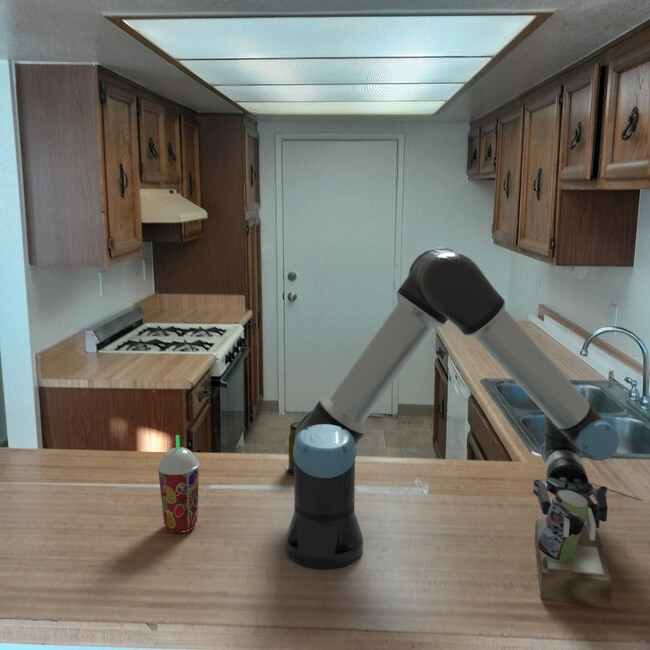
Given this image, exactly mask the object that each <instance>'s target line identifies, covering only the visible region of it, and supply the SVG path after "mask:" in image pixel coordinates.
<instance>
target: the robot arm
mask: <svg viewBox="0 0 650 650" xmlns="http://www.w3.org/2000/svg"><path fill="white" fill-rule="evenodd" d="M398 288H399V289H398V290H397V291H396V299H397V305H395V307H394V308H393V310H392V311H391V312H390V314H389V315H388V316H387V318H386V319H385V321H384V322H383V324H381V326H380V328H379V329H378V330H377V332H376V333H375V335H374V337H373V338H371V340H370V342H369V343H368V344H367V346H366V347H365V348H364V350H363V351H362V353H361V355H360V356H359V357H358V359H357V360H356V361H355V363H354V364H353V365H352V367H351V368H350V369H349V371H348V372H347V374H346V375H345V377H344V378H343V380H342V381H341V382H340V384H339V385H338V387H337V388H336V389H335V391H334V392H333V393H332V395H331V396H326V397H321V398H320V399H319V401H318V402H317V404H316V405H315V406H314V407H313V409H312V410H310V411H308V412H307V413H306V414H305V415H304V416H303V417H301V419H300V421H298V422H299V424H298V426H297V428H296V432H295V442H294V447H293V457H294V478H293V481H294V482H293V483H294V485H293V489H294V490H293V492H294V493H293V494H294V496H293V501H294V503H293V504H294V511H293V515H292V517H291V521H290V523H289V526H288V529H287V532H286V535H285V552H287V553H286V554H288V555H287V556H288V558H289V559H290V560H292V561H293V562H295V563H297V564H299V565H301V566H305V567H308V568H312V569H321V570H324V569H329V570H330V569H337V568H342V567H345V566H348V565H350V564H353V563H355V562H356V561H357V560H358V559H359V558H360V557H361V556H362V554H363V552H364V536H363V533H362V530H361V528H360V524H359V522H358V518H357V515H356V512H355V503H356V502H355V498H356V497H355V490H356V489H355V484H356V483H355V481H356V476H355V475H356V458H357V449H356V448H357V447H356V445H358V443H359V441H360V440H361V439H362V438H363V436H364V435H365V433H366V432H367V428H366V419H367V418H368V417H369V415H370V414H371V412H372V411H373V410H374V408H375V407H376V405H377V404H379V401H380V400H381V399H382V397H383V396H384V395H385V393H386V392H387V391H388V389H389V388H390V387H391V385H392V384H393V383H394V381H395V380H396V378H397V377H398V376H399V374H400V373H401V371H402V370H403V368H404V367H405V366H406V365H407V363H408V362H409V361H410V359H411V357H412V356H413V355H414V353H416V351H417V349H418V348H419V347H420V346H421V344H422V343H423V341H424V340H425V339H426V338H427V336H428V334H429V333H430V331H431V330H432V329H434V328H437V327H438V328H439V327H443V326H444V325H445V323H446V322H447V321H450V322H451V323H452V324H454V326H455V327H457V328H458V329H459V330H460V331H461V333H463V335H464V336H467V337H473V338H474V339H476V341H477V342H478V343H479V344H480V345H481V346H482V348H483V349H485V351H486V352H487V353H488V354H489V355H490V356H491V357H492V358H493V359H494V361H495V362H496V363H498V364H499V366H500V367H501V368H502V369H503V370H504V371H505V372H506V373H507V374H508V376H509V377H511V379H512V380H513V381H515V383H516V384H517V385H518V387H520V388H521V390H523V392H524V393H525V394H526V395H527V396H528V397H529V398H530V399H531V400H532V401H533V402H534V403H535V405H536V406H537V407H538V408H539V409H540V411H542V412H543V413H544V414H545V427H544V428H545V429H544V431H545V432H544V441H543V443H542V447H541V449H542V451H541V456H542V460H543V463H544V469H545V474H546V481H541V480H540V479H534V480H533V491H532V492H533V494H534V495H535V496H536V497H537V500H538V502H539V506H540V510H541V511H542V512H541V513H542V514H543V515H544V516H547V514H548V511H549V508H550V505H551V499H550V495H549V493H550V494H552V495H553V496H555V495H556V494H558V493H559V491H560V490H570V491H573V492H576V493H578V494H580V495H582V496H583V497H584V498H585V499H586V500H587V502H588V504H587V506H588V509H589V511H588V515H587V518H586V520H585V523H584V524H586V527H587V531H588V535H589V538H590V540H594V541H595V532H596V530H597V529H599V528H600V521H601V522H604V523H605V522H607V520H608V518H607V517H608V502H607V497H608V487H607V486H604V485H602V486H600V487H594V486H593V484H591V483H590V482H589V478H588V475H587V472H586V469H585V468H586V467H585V465H584V463H583V459H582V455H583V456H585V457H586V458H588V459H590V460H592V461H604V460H607V459H609V458H611V457H612V456H614V454H615V453H616V452H617V451H618V449H619V446H620V435H619V432H618V430H617V429H616V428H615V427H614V426H613V425H612V424H611V423H610V422H609V421H608V420H606V419H604V417H603V416H601V414H600V413H599V412H598V410H596V409H595V408H594V406H592V405H591V404H590V403H589V401H588V400H587V397H586V396H587V395H586V390H585V388H583V387H582V386H578V385H577V384H576V385H575V384H573V383H572V382H571V381H570V380H569V379H568V378H567V377H566V375H565V374H564V373H563V372H562V371H561V370H560V369H559V368H558V366H557V365H556V364H555V363H554V361H552V360H551V359H550V357H549V356H548V355H547V354H546V353H545V352H544V351H543V350H542V349H541V348H540V347H539V345H538V344H537V343H536V342H535V341H534V340H533V339H532V338H531V336H530V335H528V333H527V332H526V331H525V330H524V329H523V328H522V327H521V325H520V324H519V323H518V322H517V321H516V320H515V319H514V318H513V317H512V315H511V314H510V313H509V312H508V310H506V300H505V299H504V298H503V297H502V296H501V295H500V294H499V292H498V291H497V290H496V288H495V287H494V286H493V284H492V283H491V282H490V281H489V279H488V278H487V277H486V276H485V274H484V273H483V271H482V270H481V269H480V267H479V266H478V265H477V264H476V263H475V262H474V261H473V260H472V259H471V258H470V257H468V256H466V255H464V254H462V253H459V252H457V251H455V250H453V249H451V248H446V247H435V248H431V249H427V250H426V251H424V252H422V253H420V254H419V255H418V256H417V257H416V258H415V259H414V260H413V262H412V264H411V265H410V268H409V271H408V276H406V278H405V280H404V282H403V283H402V284H401V286H400V287H398ZM548 492H549V493H548ZM592 495H593V498H594V500H595V502H596V503H595V502H594V501H593V500H592V498H591V496H592ZM569 524H570V522H569V519H567V518H564V525H563V536H564V537H569Z"/></svg>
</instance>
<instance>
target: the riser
mask: <svg viewBox="0 0 650 650" xmlns="http://www.w3.org/2000/svg"><path fill="white" fill-rule="evenodd" d="M545 520H546V519H542V518H535V528H534V529H535V530H534V531H535V532H534V549H536V551H535V560H536V559H537V561H536V568H538V570H537V577H538V586H539V587H538V588H539V597H540V598H539V599H540V600H545V601H552V602H559V603H567V604H574V605H580V606H588V607H594V608H595V607H596V608H603V609H610V607H611V594H612V586H613V585H612V583H613V580H612V577H611V575H610V571H609V566H608V564H607V561H606V558H605V554H604V550H603V547H602V544H601V540H600V537H599V533H598V530H597V529H596V532H595V541H594V540H590V538H589V535H588V531H587V527H586V523H584V526H583V529H582V532H581V534H580V537H579V540H578V543H577V545H576V548H575V551H574V554H573V556H572V558H571V559H570V560H568V561H555V560H552V559H550V558H548V557H547V556H545V555H544V554H543V553H542V551H541V550H540V549H539V547H538V541H539V538H540V535H541V532H542V529H543V526H544V523H545Z"/></svg>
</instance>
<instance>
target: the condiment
mask: <svg viewBox="0 0 650 650" xmlns="http://www.w3.org/2000/svg"><path fill="white" fill-rule="evenodd" d="M299 422H300V421H296V422H295V421H294V422H292V423H291V424H290V427H289V428H290V430H289V435H288V464H284V465H283V467H284V470H285V471H286V473H287V476H288V479H294V457H293V447H294V442H295V432H296V428H297V426H298V424H299Z"/></svg>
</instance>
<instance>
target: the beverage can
mask: <svg viewBox="0 0 650 650" xmlns="http://www.w3.org/2000/svg"><path fill="white" fill-rule="evenodd" d="M550 503H551V505H550V508H549V511H548V514H547V515H546V517H545V519H544V520H545V523H544V526H543V529H542V532H541V535H540V538H539V541H538V547H539V549H540V550H541V551H542V553H543V554H544V555H545V556H547V557H548V558H550V559H552V560H555V561H568V560H570V559H571V558H572V556H573V554H574V551H575V548H576V545H577V543H578V540H579V537H580V534H581V532H582V529H583V526H584V524H586V523H585V520H586V518H587V515H588V511H589V509H588V506H587V504H588V502H587V500H586V499H585V498H584V497H583V496H582V495H580V494H578V493H576V492H573V491H570V490H560V491H559V493H558V494H556V495H553V497H552V499H551V501H550ZM564 518H567V519H569V522H570V524H569V537H564V536H563V525H564Z"/></svg>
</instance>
